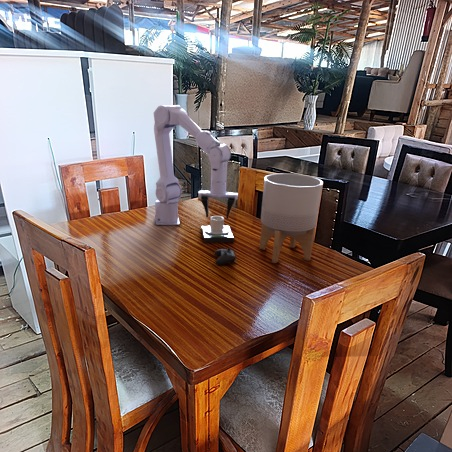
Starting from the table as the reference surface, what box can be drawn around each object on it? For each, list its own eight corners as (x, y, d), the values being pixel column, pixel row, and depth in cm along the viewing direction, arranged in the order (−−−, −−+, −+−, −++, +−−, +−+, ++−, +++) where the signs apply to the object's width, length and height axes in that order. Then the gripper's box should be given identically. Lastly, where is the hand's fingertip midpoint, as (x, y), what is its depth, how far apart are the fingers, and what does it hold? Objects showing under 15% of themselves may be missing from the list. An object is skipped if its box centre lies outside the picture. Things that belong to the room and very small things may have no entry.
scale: (204, 242, 148) (204, 236, 147) (201, 230, 159) (201, 224, 158) (233, 242, 149) (233, 236, 148) (228, 230, 161) (228, 224, 159)
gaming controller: (213, 252, 138) (225, 240, 136) (223, 262, 140) (236, 251, 138) (214, 263, 129) (228, 251, 128) (225, 274, 132) (239, 262, 130)
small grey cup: (209, 231, 152) (209, 219, 149) (210, 226, 156) (211, 215, 154) (223, 232, 151) (223, 220, 149) (224, 227, 156) (224, 216, 154)
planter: (300, 269, 131) (312, 190, 118) (248, 256, 138) (254, 180, 126) (317, 251, 145) (330, 179, 133) (270, 240, 153) (278, 170, 140)
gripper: (239, 179, 148) (236, 215, 155) (200, 177, 149) (199, 212, 155) (238, 183, 142) (236, 220, 149) (197, 181, 142) (197, 218, 149)
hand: (217, 217), depth 151 cm, fingers open, 7 cm apart
